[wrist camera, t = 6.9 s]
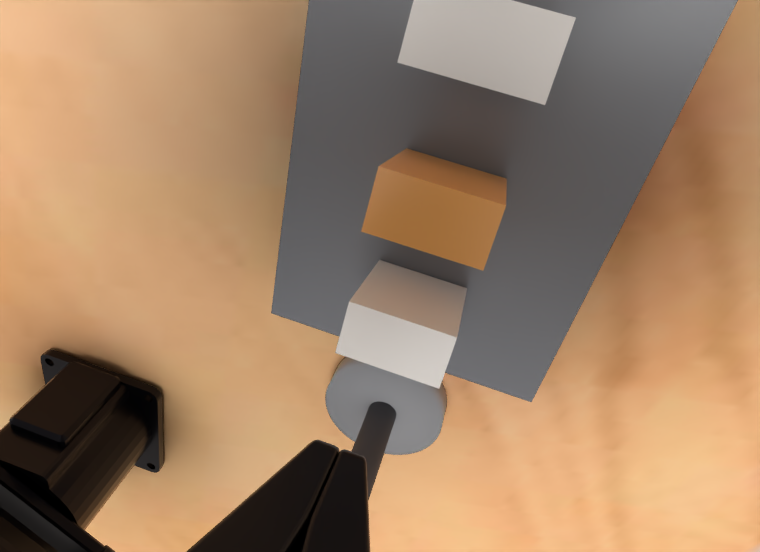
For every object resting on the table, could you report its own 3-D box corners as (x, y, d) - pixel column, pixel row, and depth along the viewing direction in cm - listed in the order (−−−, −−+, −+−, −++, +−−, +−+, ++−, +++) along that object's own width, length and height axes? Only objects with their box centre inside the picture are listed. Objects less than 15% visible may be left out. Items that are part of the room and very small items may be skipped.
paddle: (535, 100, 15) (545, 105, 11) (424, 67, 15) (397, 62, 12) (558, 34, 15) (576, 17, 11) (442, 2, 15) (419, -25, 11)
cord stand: (430, 448, 27) (371, 682, 19) (326, 411, 27) (226, 624, 19) (461, 370, 24) (405, 608, 16) (344, 331, 24) (235, 542, 17)
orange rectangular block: (488, 230, 17) (483, 270, 14) (392, 200, 18) (360, 231, 14) (506, 178, 17) (506, 205, 13) (406, 148, 17) (378, 166, 14)
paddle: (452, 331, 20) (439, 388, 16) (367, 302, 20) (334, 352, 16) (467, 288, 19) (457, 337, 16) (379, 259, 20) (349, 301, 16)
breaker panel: (534, 365, 23) (531, 402, 21) (291, 284, 24) (271, 313, 22) (730, -34, 15) (750, -25, 13) (350, -131, 16) (325, -133, 14)
